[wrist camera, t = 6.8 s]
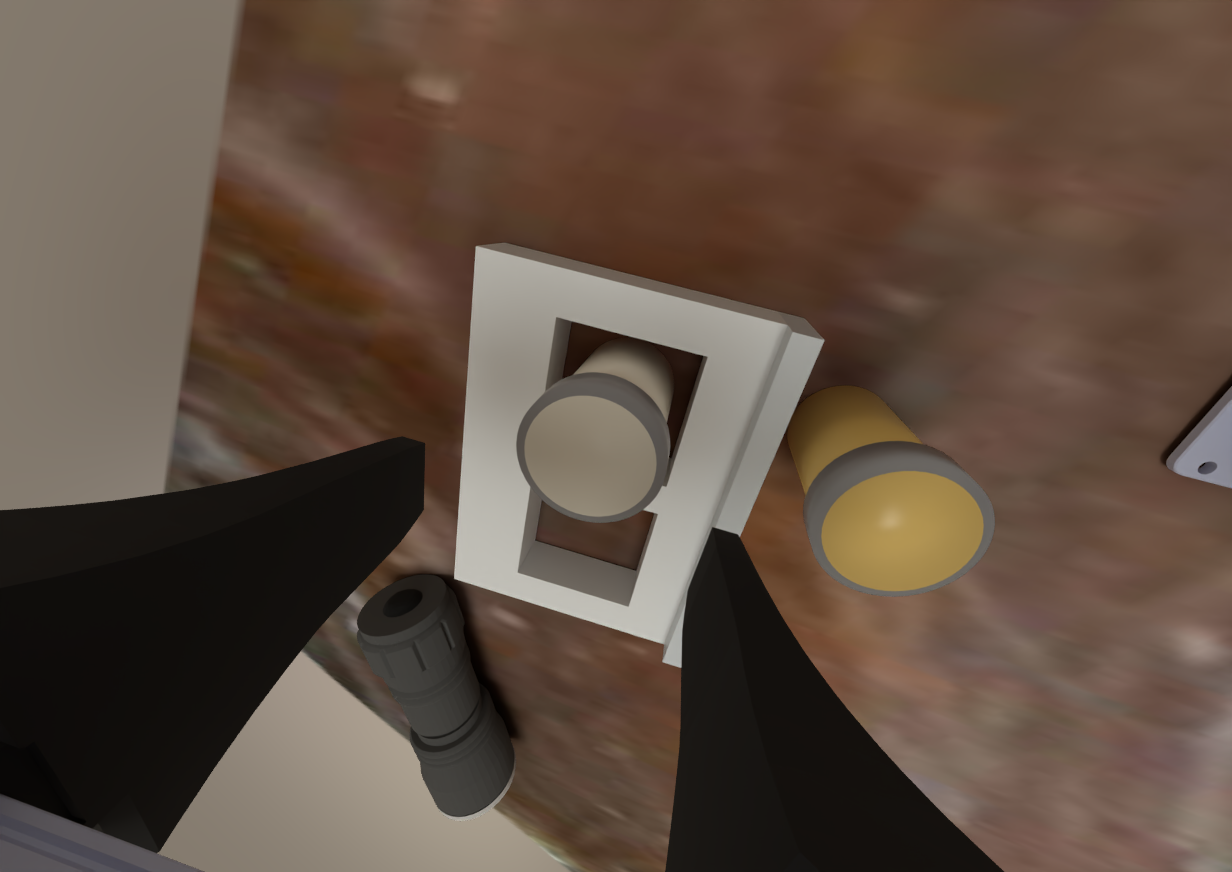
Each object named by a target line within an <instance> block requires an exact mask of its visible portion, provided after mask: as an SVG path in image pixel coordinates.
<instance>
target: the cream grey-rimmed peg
mask: <svg viewBox="0 0 1232 872" xmlns="http://www.w3.org/2000/svg"><path fill="white" fill-rule="evenodd" d="M673 393H674V375H673V371H672V368H671V366H670V364H669V362H668V360H667V359H666V357H665V356H664V355H663V354H662V353H661V352H660V351H659V350H658V349H657V348H656V347H654V346H653V345H651V344H649V343H647V342H645V341H643V340H640V339H636V338H617V339H613V340H610V341H608V342H606V343H604V344H602V345H601V346H599V347H598V348H597V349H596V350H595V351H594V352H593V353H592V354H591V355H590V356H589V357H588V358H587V360H586V361H585V362H584V363H583V364H582V365H581V366H580V368H579V369H578V370H577V371H576V372H575V373H574V374H573V375H572V376H568V377H566V378H564V379H562V380H560V381H558V382H557V383H555V384H553V385H552V386H551V387H550V388H549V389H547V390H546V391H545V392H544V393H543V394H542V396H541V397H540V398H539V399H538V400H537V401H536V402H535V403H534V404H533V405H532V406H531V407H530V409H529V410H528V411H527V412H526V414H525V416H524V417H523V419H522V421H521V424H520V426H519V429H518V433H517V441H516V451H517V458H518V462H519V465H520V468H521V471H522V473H523V475H524V477H525V479H526V481H527V482H528V484H529V486H530V487H531V488H532V489H533V491H534V492H535V493H536V494H537V495H538V496H539V497H540V498H541V499H542V500H543V501H544V502H545V503H547V504H548V505H549V506H551V507H552V508H554V509H555V510H557V511H559V512H561V513H562V514H564V515H567V516H569V517H572V518H575V519H578V520H582V521H587V522H596V523H605V522H614V521H620V520H623V519H626V518H629V517H631V516H633V515H635V514H637V513H639V512H640V511H642V510H643V509H644V508H646V507H647V506H648V505H649V504H650V503H651V502H652V501H653V500H654V499H655V497H656V496H657V494H658V493H659V491H660V489H661V487H662V485H663V483H664V479H665V475H666V471H667V465H668V460H669V454H670V434H669V429H668V426H667V420H668V415H669V411H670V407H671V402H672V398H673Z"/></svg>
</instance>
